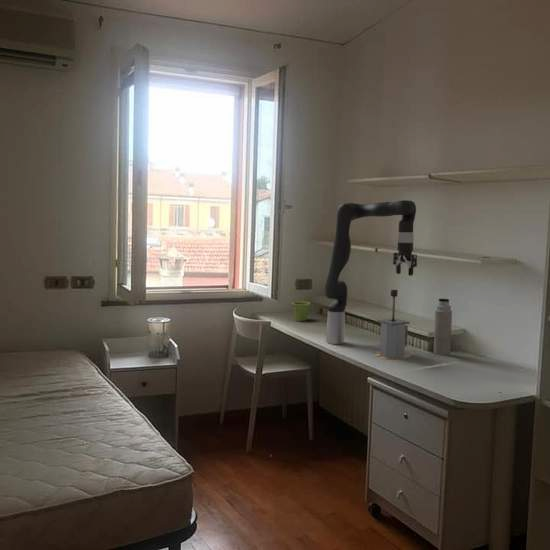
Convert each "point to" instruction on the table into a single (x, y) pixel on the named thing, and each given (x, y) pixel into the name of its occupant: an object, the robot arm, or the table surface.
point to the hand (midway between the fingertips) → (404, 274)
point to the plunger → (393, 294)
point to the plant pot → (300, 310)
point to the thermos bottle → (443, 328)
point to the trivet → (406, 356)
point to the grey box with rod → (393, 337)
